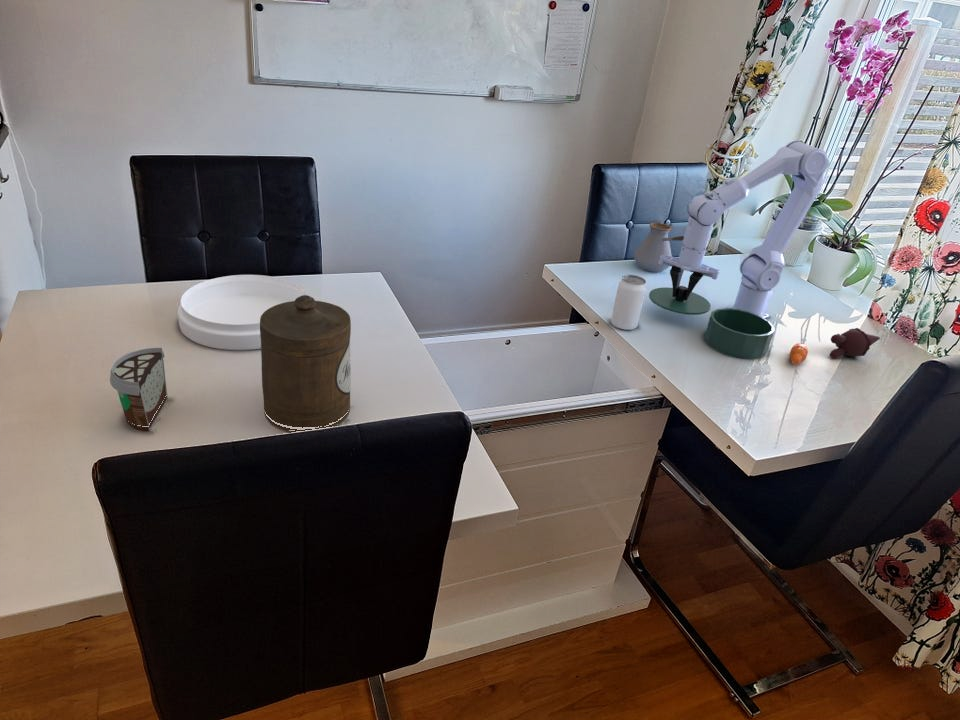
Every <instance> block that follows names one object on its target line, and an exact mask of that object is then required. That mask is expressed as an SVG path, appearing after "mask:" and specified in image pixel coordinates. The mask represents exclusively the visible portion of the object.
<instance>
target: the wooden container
mask: <svg viewBox="0 0 960 720" xmlns="http://www.w3.org/2000/svg"><path fill="white" fill-rule="evenodd" d="M351 321H352V319H351V316H350V314H349V313H348V312H347V311H346V310H345V309H344V308H342V307H341V306H338V305H336V304H333V303H330V302H326V301H321V300H315V298H314V297H312V296H310V295H307V294H305V295H302V296H300V297H298V298H296V300H295V301H291V302H285V303H281V304H278V305H275V306H273V307H271V308H269V309H268V310H266V311H265V312H264V313H263V314H262V315H261V318H260V337H261V349H260V357H261V361H260V362H261V386H262V387H261V388H262V398H263V400H262V401H263V412H264V410H265V412H266V414H267V415H268V416H269V417H270V418H271V419H272V420H274V421H275V422H277V423H280V424H283V425H287V426H292V427H302V428H303V427H318V426H319V428H326V427H332V426H335V427H337V426H339V425H340V424H341V423H343V422H344V421H345V420H346V419H347V418H348V416H349V414H350V411H351V381H352V380H351V379H352V378H351V377H352V376H351V373H352V372H351V369H352V368H351V334H352V333H351V331H352V323H351ZM349 408H350V409H349ZM348 410H349V411H348ZM265 412H264V417H265V419H266V420H267V422H268V423H269V424H270V425H272V426H273V427H275V428H277V429H278V430H281V431H284V432H288V431H289V430H295V431H289V432H288V433H292V432H296V431H305V430H312V429H305V430H297V429H290V428H286V427H282V426H280V425H277V424H275V423H274V422H272V421H271V420H270V419H269V418H268V417H267V416H266V414H265ZM347 412H348V413H347ZM346 413H347V414H346ZM345 414H346V415H345ZM344 415H345V416H344ZM343 416H344V417H343ZM341 417H343V418H342V419H341V420H339V421H338V419H340V418H341ZM336 421H338V422H336ZM332 422H336V423H334V424H332V425H329V423H332ZM337 424H338V425H337ZM326 425H329V426H326ZM320 426H322V427H320ZM324 426H326V427H324ZM319 428H315V429H319Z"/></svg>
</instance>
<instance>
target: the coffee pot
mask: <svg viewBox="0 0 960 720" xmlns="http://www.w3.org/2000/svg"><path fill="white" fill-rule="evenodd" d="M649 228H650V229H649V230H650V231H649V233H648V234H647V235H646V236H645V238H644V239H643V241H642V242H641V244H640V245H639V246H638V248H637V249H636V250H635V252H634V253H633V260H634V261H635V263H636V264H637V266H638V268H640V269H642V270H644V271H646V272H652V273H661V272H664V270H666V269H669V268H670V267H671V266H668V265H664V264H663V265H661V264H658V263H659V259H660V256H662V255H665V256H670V257H673V255H672V249H671V245H670V241H675V242H677V241H678V242H679V241H681V242H683V239H684V235H681V236H680V235H679V236H674V237H669V233H670V231H672V226H670V225H669V224H666V223H662V222H650V223H649Z"/></svg>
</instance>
